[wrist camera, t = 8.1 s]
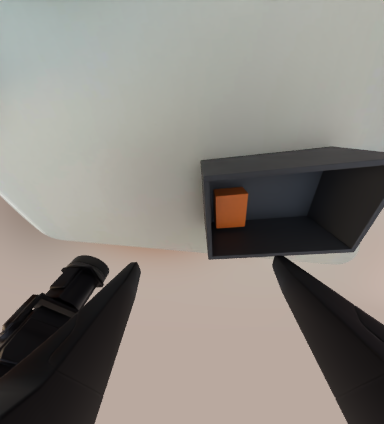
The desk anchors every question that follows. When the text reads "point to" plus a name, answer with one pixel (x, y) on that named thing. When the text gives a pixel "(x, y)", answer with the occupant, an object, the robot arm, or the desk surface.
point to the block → (230, 207)
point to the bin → (296, 201)
